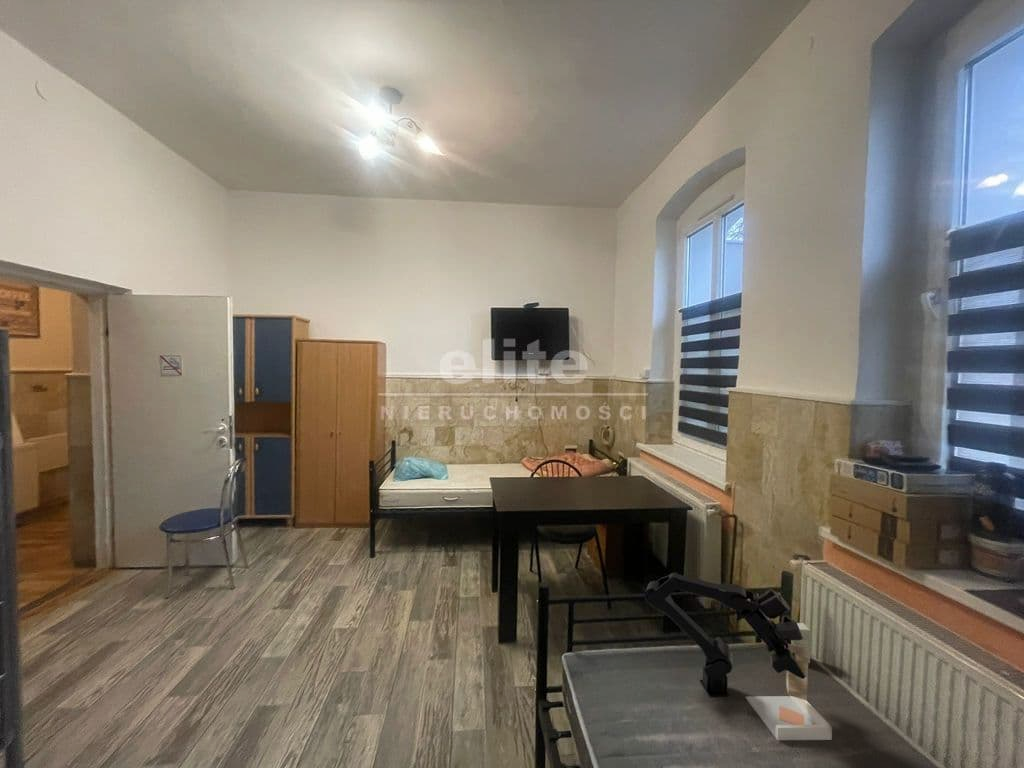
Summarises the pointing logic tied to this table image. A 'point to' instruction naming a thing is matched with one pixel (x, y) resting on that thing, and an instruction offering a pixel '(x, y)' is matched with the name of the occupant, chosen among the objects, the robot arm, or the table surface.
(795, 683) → the birch block
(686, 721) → the table surface
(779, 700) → the tray
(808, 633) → the skincare box
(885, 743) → the table surface
